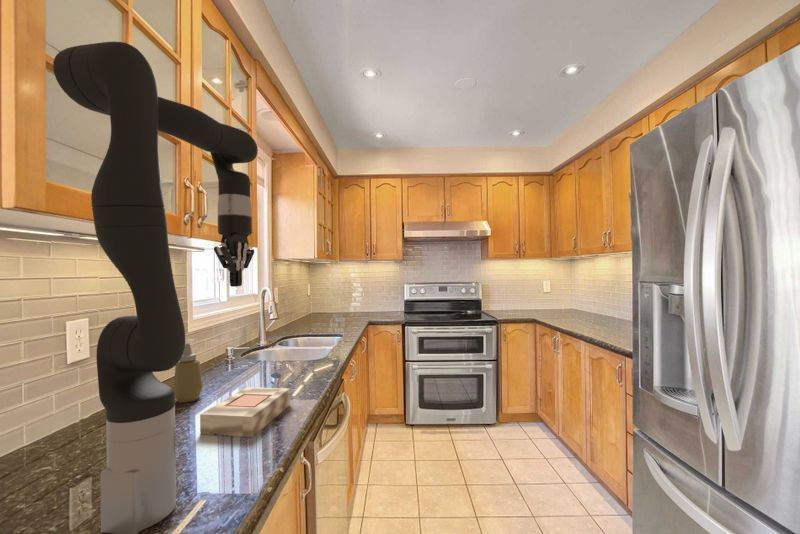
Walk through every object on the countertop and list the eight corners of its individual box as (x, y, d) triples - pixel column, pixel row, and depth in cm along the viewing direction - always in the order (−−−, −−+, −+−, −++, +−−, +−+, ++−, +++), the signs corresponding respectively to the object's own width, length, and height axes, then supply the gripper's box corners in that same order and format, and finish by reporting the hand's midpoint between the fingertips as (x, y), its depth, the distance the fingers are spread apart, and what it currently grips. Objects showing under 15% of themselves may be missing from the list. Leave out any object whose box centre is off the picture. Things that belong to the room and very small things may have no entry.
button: (254, 421, 90) (254, 406, 90) (227, 420, 92) (227, 405, 92) (269, 409, 98) (269, 395, 98) (244, 408, 99) (244, 394, 99)
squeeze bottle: (189, 405, 105) (188, 346, 105) (166, 403, 106) (166, 345, 107) (208, 395, 113) (208, 341, 113) (187, 394, 114) (187, 340, 115)
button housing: (252, 437, 84) (251, 416, 84) (200, 434, 86) (200, 414, 86) (289, 405, 104) (289, 388, 104) (247, 403, 106) (246, 387, 106)
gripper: (232, 210, 77) (233, 287, 76) (263, 218, 90) (264, 285, 90) (201, 211, 78) (202, 288, 78) (237, 220, 91) (238, 285, 91)
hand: (236, 286), depth 84 cm, fingers closed
